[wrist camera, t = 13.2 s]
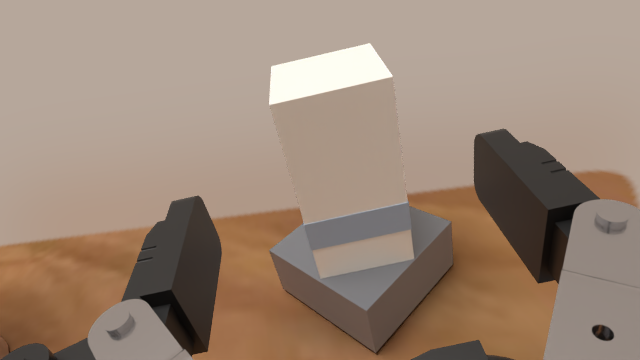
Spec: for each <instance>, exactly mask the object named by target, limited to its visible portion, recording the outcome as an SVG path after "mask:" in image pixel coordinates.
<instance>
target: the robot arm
mask: <svg viewBox="0 0 640 360" xmlns="http://www.w3.org/2000/svg"><path fill="white" fill-rule="evenodd" d="M474 185H475V190H476V193H477V196H478V198H479V200H480V201H481V203H482V204H483V206H484V207H485V208H486V210H487V211H488V213H489V214H490V216H491V217H492V218H493V220H494V221H495V223H496V224H497V226H498V227H499V228H500V230H501V231H502V233H503V234H504V236H505V237H506V238H507V240H508V241H509V243H510V244H511V246H512V247H513V248H514V250H515V251H516V253H517V254H518V255H519V257H520V258H521V260H522V261H523V263H524V264H525V265H526V267H527V268H528V270H529V271H530V273H531V274H532V275H533V277H534V278H535V280H536V281H537V283H543V282H548V281H553V280H556V281H557V283H558V284H559V285H558V290H557V295H556V300H555V305H554V310H553V315H552V319H551V324H550V329H549V334H548V339H547V344H546V349H545V353H544V358H543V360H640V210H639V209H638V208H636V207H634V206H632V205H629V204H627V203H623V202H620V201H615V200H607V199H600V198H599V197H597V196H596V195H595V194H594V193H593V192H592V191H591V190H590V189H589V188H587V187H586V186H585V185H584V184H583V183H582V182H581V181H580V180H579V179H577V178H576V177H575V176H574V175H573V174H572V173H571V172H569V171H566V168H565V167H564V166H563V165H562V164H560V162H557V161H556V159H555V158H554V157H553V156H552V155H550V153H548V152H547V151H546V150H545V149H543V148H541V147H539V146H536V145H534V144H531V143H529V142H523V143H519V141H517V140H516V139H515V138H514V137H513V136H512V135H511V134H510V133H509V132H508V131H507V130H506V129H500V130H495V131H491V132H486V133H482V134H478V135H476V137H475V140H474ZM141 250H142V252H140V254H139V256H138V259H137V263H136V264H135V267H134V269H133V272H132V275H131V277H130V280H129V283H128V285H127V288H126V290H125V293H124V296H123V298H122V301H121V302H120V303H118V304H116V305H114V306H112V307H111V308H109V309H108V310H107V311H105V312H104V313H103V314H102V315H101V316H100V317H99V318H98V319H97V320H96V321H95V323H94V324H93V325H92V327H91V329H90V331H89V334H88V338H86V339H84V340H82V341H80V342H78V343H76V344H73V345H71V346H69V347H67V348H65V349H63V350H61V351H59V352H57V353H54V354H52V352H51V351H50V350H49V349H48V348H47V347H46V346H45V345H43V344H38V343H35V344H28V345H25V346H22V347H20V348H18V349H16V350H14V351H12V352H11V353H9V349H8V344H7V343H6V342H5V340H4V339H3V338H2V337H1V336H0V360H193V359H192V355H193V354H198V353H203V352H208V346H209V339H210V332H211V325H212V318H213V311H214V304H215V297H216V290H217V283H218V276H219V269H220V262H221V255H222V251H221V243H220V239H219V236H218V233H217V231H216V229H215V227H214V224H213V222H212V220H211V218H210V216H209V213H208V211H207V209H206V207H205V204H204V202H203V200H202V199H201V197H199V196H194V197H190V198H185V199H181V200H176V201H173V202H172V203H171V205H170V208H169V211H168V214H167V217H166V219H165V221H160V222H157V224H156V225H155V226H154V227H153V228H152V229H151V231H150V232H149V233H148V234H147V235H146V238H145V240H144V243H143V246H142V248H141ZM411 360H514V359H510V358H507V357H500V356H494V355H486V354H485V352H484V349H483V347H482V345H481V343H480V341H479V340H476V341H471V342H466V343H462V344H457V345H452V346H447V347H442V348H437V349H432V350H430V351H428V352H426V353H423V354H421V355H419V356H417V357H415V358H413V359H411Z"/></svg>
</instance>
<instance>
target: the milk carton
mask: <svg viewBox="0 0 640 360" xmlns="http://www.w3.org/2000/svg"><path fill="white" fill-rule="evenodd" d="M269 106H270V109H271V113H272V116H273V119H274V123H275V126H276V129H277V133H278V136H279V140H280V143H281V146H282V150H283V153H284V157H285V160H286V163H287V167H288V170H289V173H290V177H291V180H292V184H293V187H294V190H295V193H296V197H297V200H298V204H299V207H300V211H301V214H302V218H303V222H304V228H305V231H306V235H307V238H308V241H309V245H310V248H311V251H313V255H314V258H315V262H316V265H317V268H318V272H319V275H320V279H322V278H326V277H331V276H336V275H341V274H346V273H350V272H355V271H360V270H365V269H369V268H374V267H379V266H384V265H388V264H393V263H398V262H403V261H407V260H412V259H414V252H413V244H412V235H411V229H412V227H411V218H410V209H409V202H408V200H407V193H406V184H405V176H404V167H403V158H402V150H401V142H400V133H399V124H398V116H397V108H396V98H395V90H394V82H393V76H392V75H391V73H390V72H389V70H388V69H387V67H386V66H385V64H384V63H383V62H382V60H381V59H380V57H379V56H378V54H377V53H376V51H375V50H374V48H373V47H372V46H371V44H370V43H369V44H365V45H361V46H357V47H352V48H348V49H344V50H339V51H335V52H331V53H327V54H322V55H319V56H314V57H309V58H305V59H301V60H297V61H292V62H288V63H284V64H279V65H275V66H272V67H271V83H270V102H269Z"/></svg>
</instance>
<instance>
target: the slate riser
mask: <svg viewBox="0 0 640 360" xmlns="http://www.w3.org/2000/svg"><path fill="white" fill-rule="evenodd" d="M409 209H410V218H411V227H412V229H411V235H412V244H413V252H414V259H412V260H407V261H403V262H398V263H393V264H388V265H384V266H379V267H374V268H369V269H365V270H360V271H355V272H350V273H346V274H341V275H336V276H331V277H326V278H322V279H320V275H319V272H318V268H317V265H316V262H315V258H314V255H313V251H311V248H310V245H309V241H308V238H307V235H306V231H305V228H304V223H303V224H302V225H301V226H299V227H298V228H297V229H296V230H294V231H293V232H292V233H290V234H289V235H288V236H287V237H285V238H284V239H283V240H282V241H280V242H279V243H278V244H277V245H275V246H274V247H273V248H271V249H270V250H269V251H270V254H271V257H272V259H273V262H274V265H275V268H276V270H277V273H278V276H279V278H280V281H281V284H282V286H283V289H285V290H286V291H287V292H289V293H290V294H292V295H293V296H295V297H296V298H298V299H299V300H300V301H302V302H303V303H305V304H306V305H308V306H309V307H310V308H312V309H313V310H315V311H316V312H318V313H319V314H320V315H322V316H323V317H325V318H326V319H328V320H329V321H331V322H332V323H333V324H335V325H336V326H338V327H339V328H341V329H342V330H343V331H345V332H346V333H348V334H349V335H351V336H352V337H353V338H355V339H356V340H358V341H359V342H361V343H362V344H363V345H365V346H366V347H368V348H369V349H371V350H372V351H374V352H375V353H376V352H377V351H378V350H379V349H380V348H381V347H382V345H383V344H384V343H385V342H386V341H387V340H388V338H389V337H390V336H391V335H392V334H393V333H394V332H395V330H396V329H397V328H398V327H399V326H400V325H401V323H402V322H403V321H404V320H405V319H406V318H407V317H408V315H409V314H410V313H411V312H412V311H413V310H414V308H415V307H416V306H417V305H418V304H419V303H420V302H421V300H422V299H423V298H424V297H425V296H426V295H427V293H428V292H429V291H430V290H431V289H432V288H433V287H434V285H435V284H436V283H437V282H438V281H439V280H440V278H441V277H442V276H443V275H444V274H445V273H446V272H447V270H448V269H449V268H450V267H451V266H452V265H453V248H452V227H451V221H448V220H445V219H443V218H440V217H437V216H435V215H432V214H429V213H427V212H424V211H421V210H418V209H416V208H413V207H410V206H409Z"/></svg>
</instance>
